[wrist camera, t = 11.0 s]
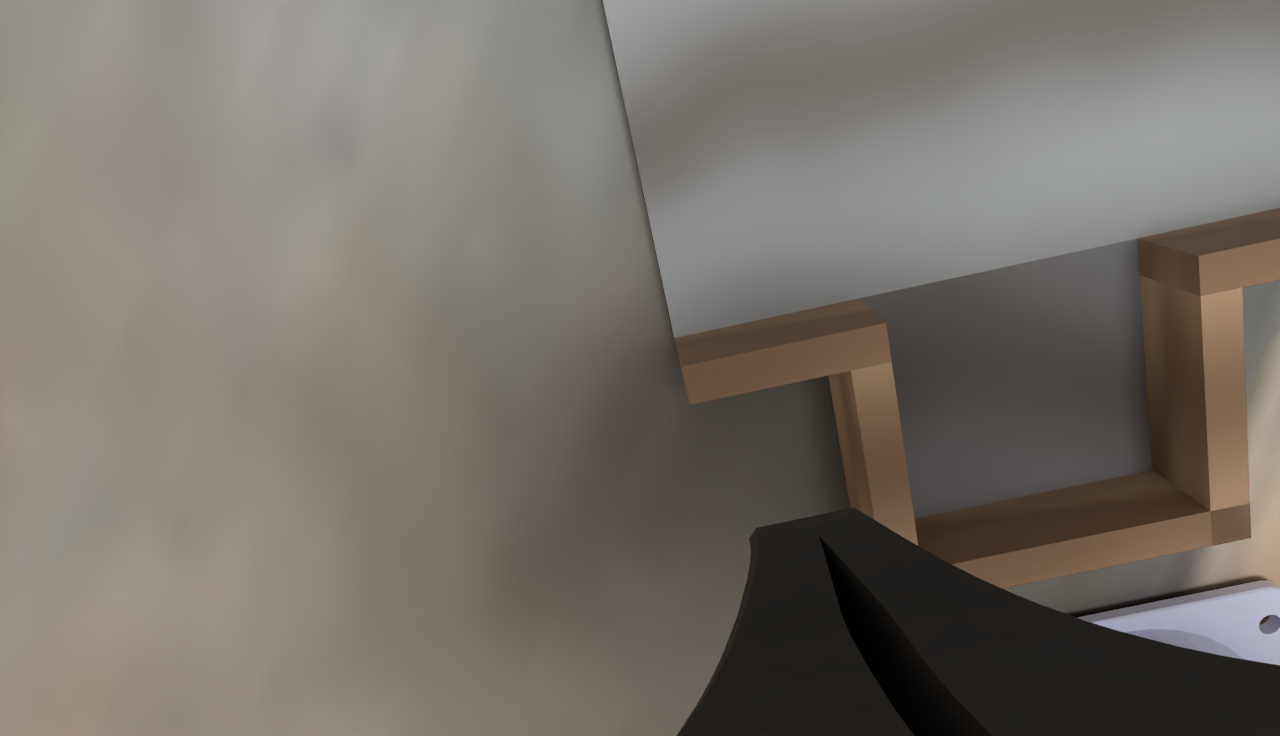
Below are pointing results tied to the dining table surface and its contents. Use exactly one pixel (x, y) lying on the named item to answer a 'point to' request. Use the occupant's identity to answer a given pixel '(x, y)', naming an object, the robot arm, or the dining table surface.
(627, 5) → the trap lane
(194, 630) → the dining table surface
